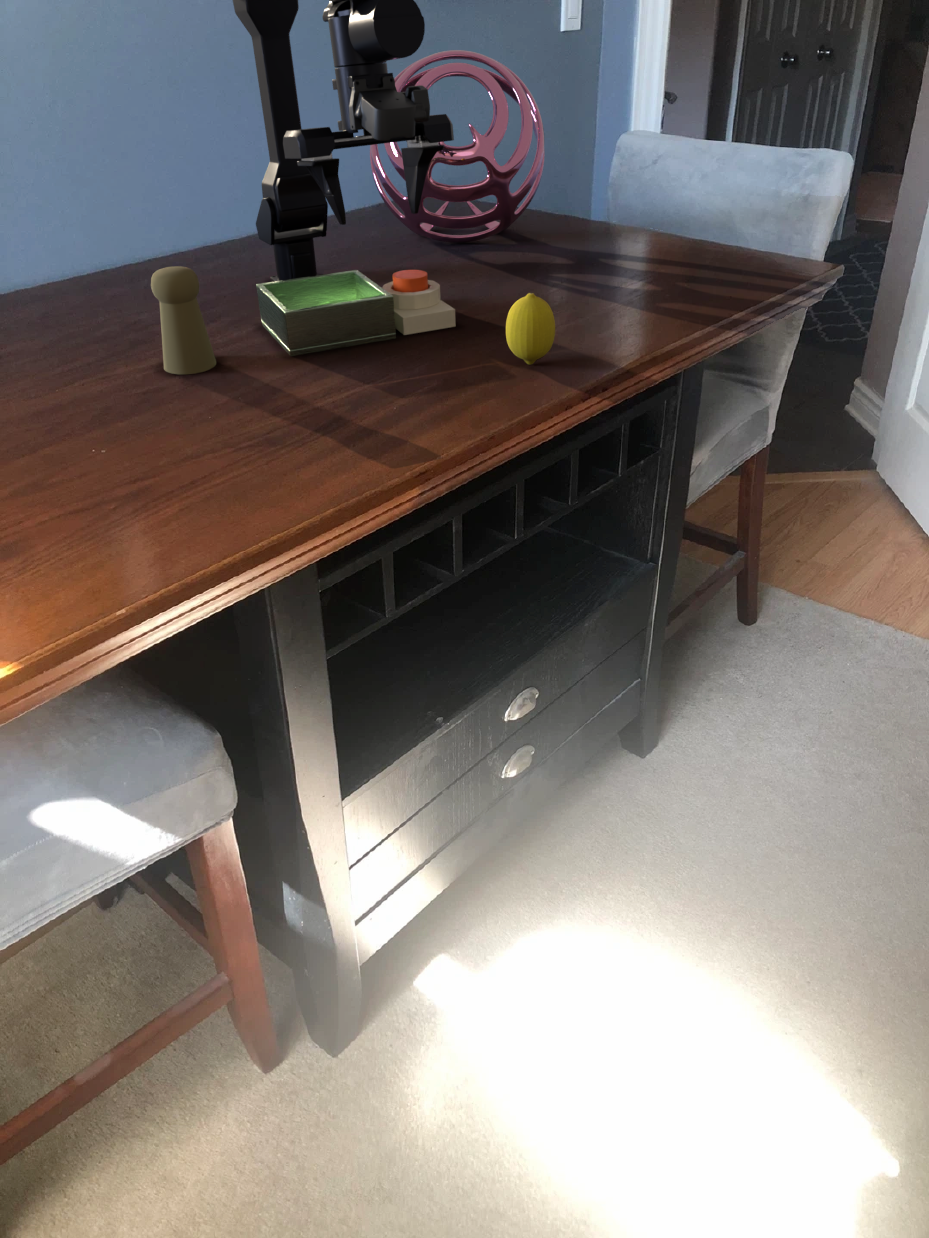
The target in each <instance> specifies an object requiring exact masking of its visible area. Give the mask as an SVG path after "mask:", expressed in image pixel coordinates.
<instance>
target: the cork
mask: <svg viewBox="0 0 929 1238" xmlns="http://www.w3.org/2000/svg"><path fill="white" fill-rule="evenodd" d="M150 288H151V292H152V294H153V296H154V297H155V298H156V299H157V300H158V302H159V314H160V317H159V318H160V328H161V329H160V330H161V332H160V333H161V346H162V362H163V370H164V371H165V372H166V373H169V374H173V375H194V374H200V373H203V372H206V371H210V370H211V369H213V368H215V367H216V365H217V359H216V356H215V352H214V350H213V346H212V343H211V340H210V337H209V334H208V330H207V327H206V324H205V320H204V317H203V315H202V312H201V308H200V305H199V302H198V298H197V297H198V295H199V293H200V282H199V278H198V276H197V273H196V272H195V271H194V270H193V269H191V268H190V267H186V266H181V265H178V266H177V265H176V266H175V265H173V266H166V267H163V268H160V269H157V270H156V271H155V272H154V273H152V276H151V278H150Z"/></svg>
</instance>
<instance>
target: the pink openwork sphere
mask: <svg viewBox="0 0 929 1238" xmlns="http://www.w3.org/2000/svg"><path fill="white" fill-rule="evenodd" d="M447 60H467V61H472V62H477V63H480V64H484V65H486V66H488V67H489V68H491V69H492V70H494V71H495V72H497V73H498V74H497V73H495V72H493V71H490V70H488V69H485V68H482V67H480V66H479V67H478V66H477V65H474V64H470V63H466V62H449V63H444V64H440V65H438V66H435V67H431V68H429V69H425V70H423V71H421V72H419V71H420V70H421V69H424V68H425V67H427V66H428V65H431V64H434V63H438V62H441V61H447ZM417 72H418V73H417ZM450 77H454V78H455V77H461V78H470V79H473V80H475V81H476V82H478V84H480V85H481V86H483V88H484V89H485V90H486V92H487V94H488V95H489V96H490V100H491V103H492V111H493V114H492V119H491V123H490V125H489V127H488V129H487V130H486V132H485V133H484V134H481V133H479V131H478V130H477V129H476V128H475V127H474V126H473V125H472V123H469V122H468V128H469V130H470V133H471V136H472V139H473V140H472V143H470V144H466V145H462V146H454V145H449V144H446V143H445V142H438V144H439V145H444V149H443V150H441V151H438V152H437V153H436V154H435V156H434V157H433V159H432V160H431V162H430V165H429V168H428V171H427V174H426V178H425V182H424V187H423V192H422V196H421V201H420V206H419V210H418V213H417V214H412V213H411V209H410V205H409V201H408V196H405V195H403V193H401V192H400V191H399V190H398V189H397V187H396V186H395V185H394V184H393V182H392V181H391V179H390V178H389V176H388V174H387V172H386V170H385V168H384V166H383V163H382V159H381V156H380V153H379V152H380V151H379V147H378V145H379V144H375V145H369V162H370V164H369V165H370V169H371V170H370V171H371V174H372V178H373V181H374V184H375V187H376V189H377V191H378V194H379V196H380V198H381V199H382V201H383V202H384V204H385V206H386V207H387V208H388V210H389V211H390V212H391V213H392V214H393V215H394V217H395V218H396V219H397V220H398V221H399V222H400V223H402V224H403V226H405V227H406V228H407V229H408V230H410V231H411V232H412V233H414V234H415V235H417V236H422V237H425V238H428V239H431V240H433V241H437V242H441V243H451V244H463V243H464V244H465V243H473V242H477V241H482V240H485V239H487V238H491V237H492V236H495V235H497V234H499V233H502V232H504V231H506V230H507V229H508V228H510V227H511V226H512V225H513V224H514V223H515V222H517V220H518V219H519V218H520V217H521V215H522V214H523V213H524V212H525V211H526V210H527V208H528V207H529V205H530V204H531V203H532V201H533V199H534V197H535V195H536V193H537V190H538V188H539V186H540V183H541V180H542V177H543V172H544V165H545V155H546V154H545V128H544V123H543V119H542V116H541V112H540V110H539V106H538V104H537V102H536V100H535V98H534V96H533V94H532V93H531V91H530V90H529V88H528V86H527V85H526V84H525V83H524V82H523V80H522V79H521V78H520V77H519V76H518V75H517V74H516V73H515V72H513V70H511V69H510V68H509V67H507V66H506V65H504V64H503V63H501V62H499V60H498V61H497V60H496V59H494V58H492V57H490V56H487V55H485V54H482V53H479V52H475V51H470V50H463V49H461V50H460V49H451V50H450V49H449V50H443V51H439V52H435V53H432V54H430V55H427V56H425V57H422V58H420V59H418V60H416V61H414V62H413V63H411V64H409V65H408V66H406V67H405V68H404V69H403V70H402V71H400V72H399V73H398V74H397V75H396V76H395V77H394V80H395V87H396V89H397V92H406V89H407V87H409V86H420V85H422V86H424V87H425V88H427V89H428V91H429V90H430V89H431V87H433V86H434V84H436V83H437V82H438V81H440V80H442V79H445V78H450ZM506 94H507V95H508V96H509V97H510V98H511V99H512V100H513V101H514V102H515V103H516V105H518V106H519V109H520V117H521V118H520V120H521V126H520V134H519V138H518V142H517V144H516V147H515V149H514V151H513V153H512V155H511V156H510V157H509V159H508V160H507V161H506V163H505V164H503V165H500V164H499V163H498V161H497V160H496V158H495V151H496V149H497V148H498V146H499V145H500V144H501V142H502V141H503V139H504V136H505V135H506V131H507V128H508V125H509V116H510V115H509V105H508V99H507V97H506ZM533 134H534V137H535V140H536V151H535V156H534V159H533V162H532V166H531V168H530V170H529V172H528V174H527V176H526V177H525V179H524V181H523V182H522V183H521V185H520V186H519V187H518V189H517V190H516V191H515V192H513V193H512V192H511V190H510V185H511V182H512V180H513V179H514V178H515V176H516V175H517V173H519V171H520V169H521V168H522V167H523V165H524V163H525V161H526V160H527V157H528V155H529V151H530V148H531V145H532V139H533ZM383 145H384V148H385V151H386V154H387V157H388V159H389V161H390V163H391V165H392V166H393V168H394V169H395V171H396V172H397V173H398V175H399V176H400V177H401V178H402V179H403V181H405V173H404V166H403V159H402V152H401V148H400V146H399V144H398V142H392V143H383ZM477 162H482V163H483V164H484V166H485V168H486V172H487V175H486V177H485V178H483V179H482V180H480V181H477V182H473V183H468V184H462V185H461V184H460V185H459V184H458V185H457V184H456V185H455V184H445V183H442V182H438V181H436V180H434V179H433V176H432V171H433V169H434V167H435V165H437V164H439V163H440V164H444V165H448V166H455V167H458V166H467V165H468V166H469V165H472V164H475V163H477ZM489 196H494V197H495V198H496V204H495V205H494V206H493V207H492V208H491V209H489V210H486V211H484V212H483V211H481V210H480V209H479V208H478V207H477V206H476V205H475V204H473V203H472V201H476V200H480V199H483V198H486V197H489ZM389 197H390V198H391V199H390V198H389ZM427 198H431V199H435V200H438V201H443V202H444V203H443V204H442V205H441V206H440V207H439V208H438V210H437V211H436V212H433V211H429V210H428V209H427V208H425V206H424V200H425V199H427ZM391 200H392V201H393V202H394V203H395V204H396V205H397V207H399V209H400V210H401V211H402V212H403V213H402V212H401V211H400V210H399V209H398V208H397V207H396V206H395V204H394V203H393V202H392V201H391ZM522 201H523V202H522ZM521 202H522V204H521ZM450 203H466V204H467V207H468V208H469V209H470V210H471V212H472V215H464V216H463V215H462V216H451V215H444V213H445V212H446V209H447V208H448V206H449V204H450ZM520 204H521V205H520ZM518 206H519V207H518ZM517 207H518V208H517ZM482 226H484V227H485V228H486V230H483V231H480V232H475V233H470V234H462V235H461V234H460V235H459V234H457V235H456V234H453V235H452V234H445V233H441V232H435V231H432V230H433V229H434V228H435V227H438V228H443V229H450V230H464V229H465V230H466V229H472V228H473V229H474V228H477V227H482Z"/></svg>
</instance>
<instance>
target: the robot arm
mask: <svg viewBox="0 0 929 1238" xmlns="http://www.w3.org/2000/svg"><path fill="white" fill-rule="evenodd" d="M328 1H329V2H328V4H327V6H326V7H325V8H324V9H323V13H322V20H323V22H325V23H328V29H329V36H330V45H331V51H332V59H333V68H334V75H335V78H334V79H331V83H332V90H334V91H337V98H338V104H339V111H340V112H339V113H340V119H341V120H337V127H338V131H337V130H336V131H332V129H331V127H330V126H321V127H310V128H302V122H301V113H300V107H299V99H298V92H297V83H296V76H295V75H296V74H295V68H294V61H293V54H292V46H291V38H290V34H291V33H290V32H291V31H292V28H293V25H294V22H295V20H296V17H297V14H298V12H299V7H300V6H299V0H232V5H233V9H234V13H235V15H236V17H237V18H238V19H239V21H240V22H241V24H242V25H243V27H244V28H245V30H246V31H247V32H248V34H249V35H250V37H251V42H252V49H253V54H254V55H253V56H254V61H255V68H256V74H257V82H258V89H259V96H260V102H261V109H262V115H263V123H264V130H265V137H266V143H267V150H268V157H269V162H268V166H267V168H266V170H265V173H264V175H263V179H262V181H261V192H262V198H261V201H260V205H259V209H258V213H257V216H256V220H255V229H256V231H257V236H258V239H259V240H260V241H261V242H264V243H266V244H267V245H269V246H272V248H273V254H274V262H275V270H276V275H270V281H271V282H275V281H282V280H289V279H296V278H303V277H310V276H317V275H319V274H318V271H317V270H318V269H317V262H316V253H315V245H314V244H315V243H314V238H321V237H322V238H325V237H327V230H328V209H329V207H330V209H331V211H332V213H333V214H334V216H335V218H336V220H337V222H338V224H340V226H341V225H342V226H345V225H346V224H347V219H346V218H347V216H346V208H345V203H344V197H343V193H342V192H343V191H342V187H341V182H340V177H339V169H340V158H333V151H335V150H341V149H350V148H358V147H365V146H370V145H375V144H377V145H382V144H383V145H384V143H392V142H397V143H399V142H406V147H401V148H400V151H401V153H402V159H403V166H404V173H405V180H404V182H405V187H406V195H407V197H408V201H409V205H410V209H411V213H412V214H417V213H418V210H419V206H420V201H421V196H422V192H423V187H424V182H425V178H426V174H427V171H428V168H429V165H430V162H431V160H432V159H433V157H434V156H435V154H436V153H437V152H438V151H441V150H443V149H444V145H439V144H438V142H444V143H445V142H451V141H455V136H454V135H455V134H454V125H453V122H452V120H451V119H450V118H449V116H448V114H447V113H442V114H431V103H430V95H429V90H428V89H427V88H425V87H424V86H422V85H420V86H409V87H407V89H406V92H397V89H396V87H395V80H394V78H395V77H394V73H393V72H389V71H388V63H387V62H388V61H394V60H399V59H405V58H408V57H411V56H413V55H414V54H415V53H417V51H418V50H419V49H420V47H421V45H422V43H423V41H424V37H425V34H426V33H425V31H426V25H425V23H426V22H425V17H424V16H423V14H422V11H421V8H420V7H419V5H418V4H417V2H416V1H415V0H328ZM361 130H362V133H363V134H362V135H354V134H358V133H359V131H361Z"/></svg>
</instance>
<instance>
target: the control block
mask: <svg viewBox="0 0 929 1238" xmlns="http://www.w3.org/2000/svg"><path fill="white" fill-rule="evenodd" d="M381 288H383V289H384V290H385V291H387V292H388V293H390V294H391V295H392V296H393V300H394V315H395V330H397V331H398V332H399V333H401V334H402V335H403V336H407V335H413V334H414V335H415V334H418V333H419V334H420V333H425V332H431V331H437V330H443V329H448V328H455V327H456V308H454V307H452V306H451V305H449V304H448V303H446V302H445V301H443V300H442V299H441V284H440V283H438V282H436V281H435V280H432V279H428V289H427V290H424V291H419V292H398V291H394V289H393V280H392V281H389V282H386V283H385V284H383V285H382V287H381Z"/></svg>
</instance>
